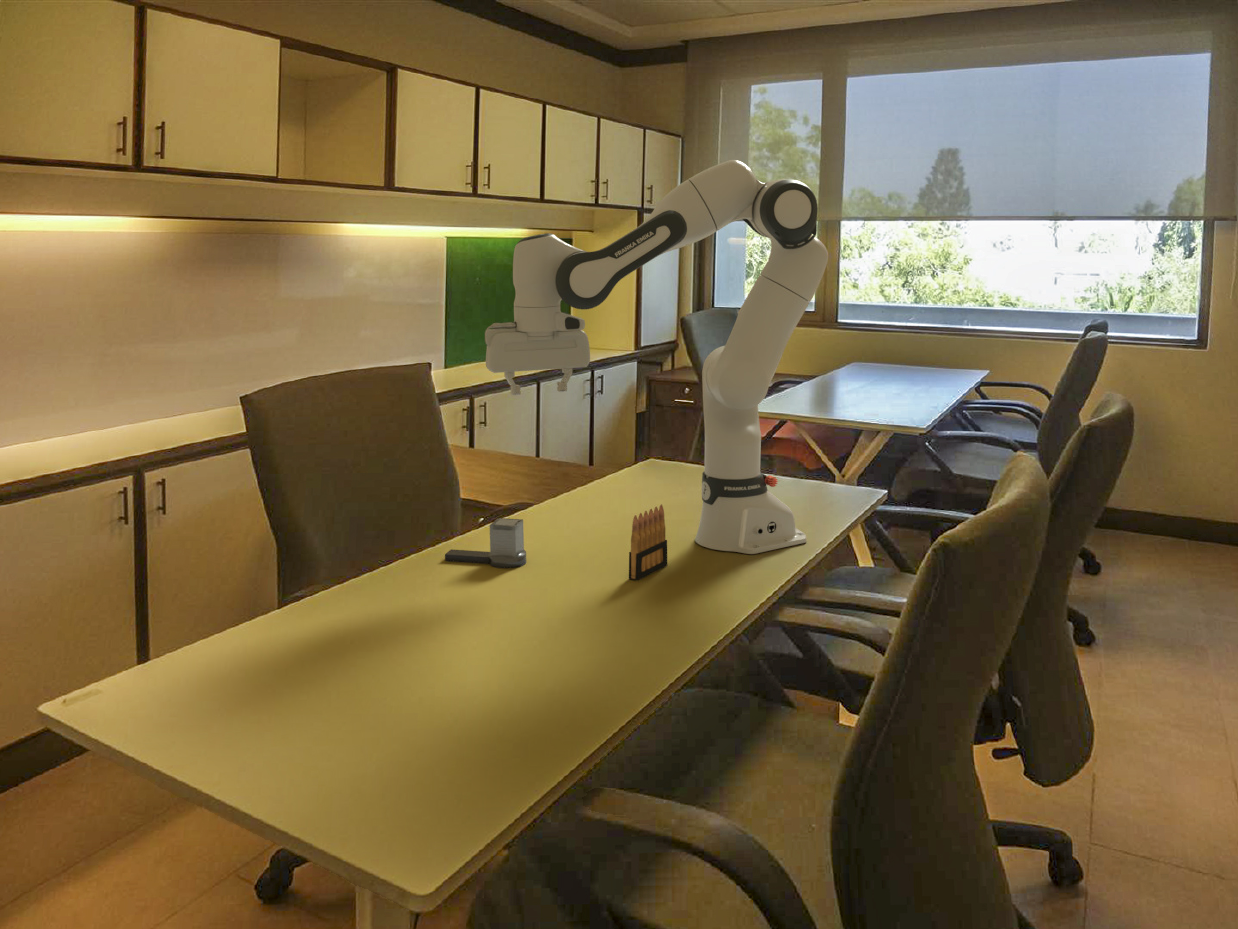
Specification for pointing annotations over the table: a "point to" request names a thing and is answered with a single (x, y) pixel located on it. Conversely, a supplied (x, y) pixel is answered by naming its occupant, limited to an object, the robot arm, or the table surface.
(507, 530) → the socket
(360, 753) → the table surface
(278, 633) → the table surface
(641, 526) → the ammunition clip
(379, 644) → the table surface
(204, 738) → the table surface
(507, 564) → the ratchet
